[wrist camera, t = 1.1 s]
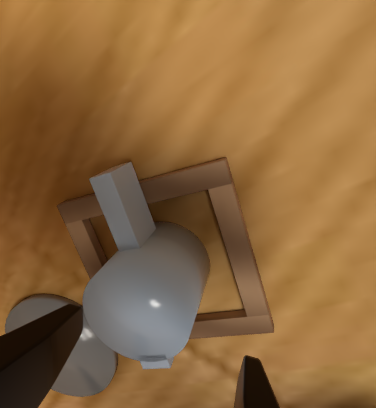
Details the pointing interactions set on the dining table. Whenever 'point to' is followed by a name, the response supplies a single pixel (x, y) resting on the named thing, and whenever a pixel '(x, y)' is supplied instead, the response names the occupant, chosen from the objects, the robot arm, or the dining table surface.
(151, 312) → the jug
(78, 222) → the frame
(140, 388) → the dining table surface
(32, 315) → the disc
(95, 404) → the dining table surface
